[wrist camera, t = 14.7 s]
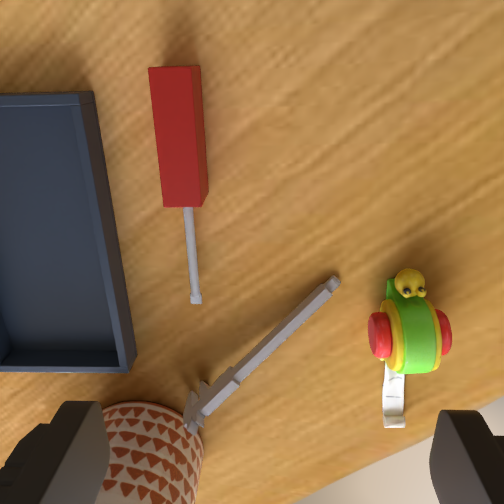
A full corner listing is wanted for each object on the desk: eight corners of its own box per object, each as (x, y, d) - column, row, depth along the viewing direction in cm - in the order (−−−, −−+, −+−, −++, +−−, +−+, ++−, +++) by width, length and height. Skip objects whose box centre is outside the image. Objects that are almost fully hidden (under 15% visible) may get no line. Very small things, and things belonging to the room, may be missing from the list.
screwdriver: (161, 66, 33) (147, 67, 29) (200, 65, 32) (191, 66, 29) (184, 292, 41) (175, 315, 37) (215, 292, 41) (209, 315, 37)
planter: (70, 456, 51) (10, 574, 39) (112, 379, 46) (58, 489, 34) (173, 498, 53) (145, 621, 41) (225, 430, 48) (209, 549, 36)
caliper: (196, 396, 46) (185, 444, 40) (188, 390, 46) (176, 437, 40) (340, 280, 39) (352, 317, 34) (332, 272, 39) (343, 308, 33)
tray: (-73, 94, 34) (-102, 97, 32) (93, 90, 33) (78, 93, 31) (10, 353, 45) (-7, 372, 42) (137, 354, 44) (128, 373, 41)
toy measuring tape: (439, 255, 38) (470, 292, 32) (420, 418, 46) (443, 472, 40) (366, 259, 38) (384, 296, 32) (360, 420, 46) (373, 473, 40)
